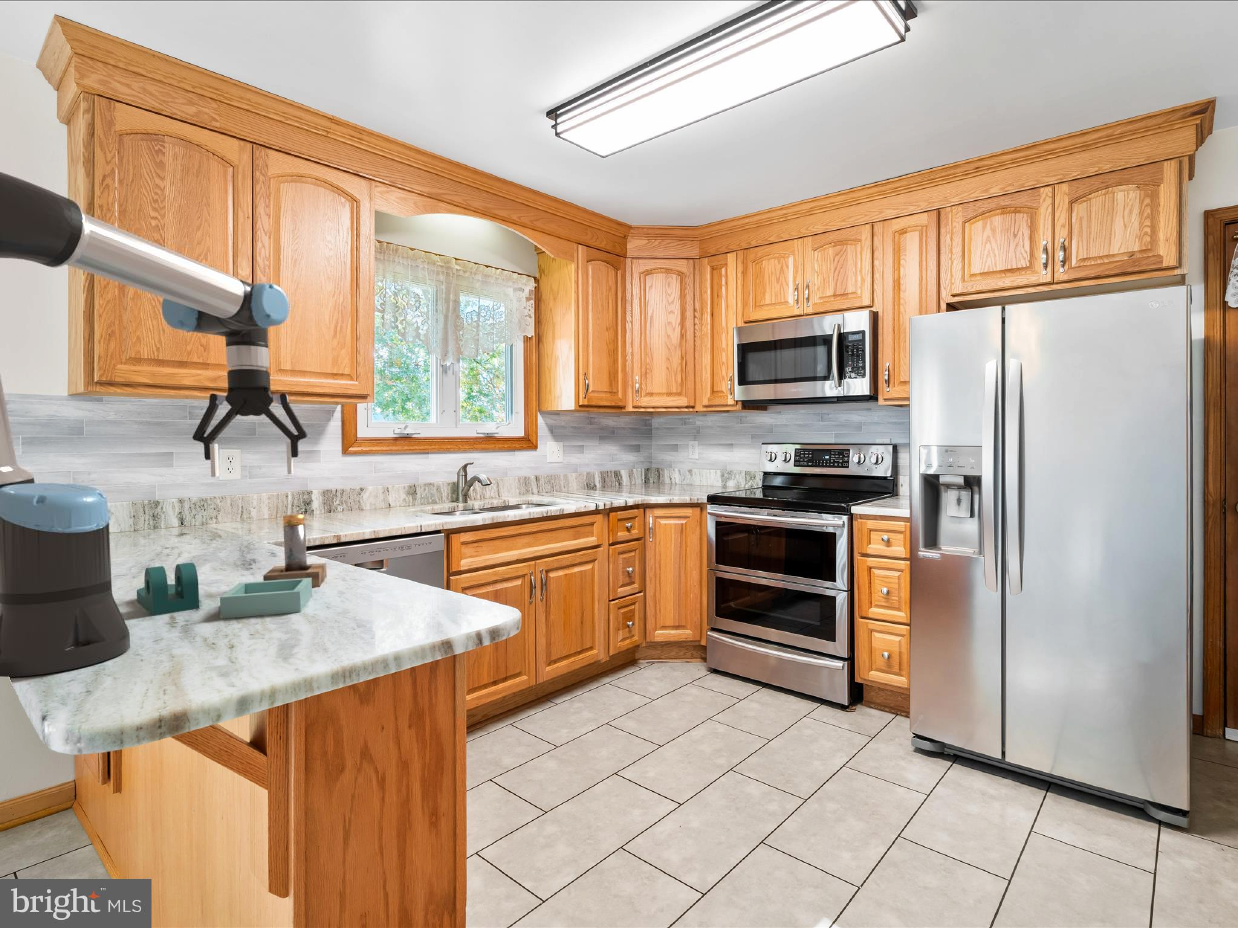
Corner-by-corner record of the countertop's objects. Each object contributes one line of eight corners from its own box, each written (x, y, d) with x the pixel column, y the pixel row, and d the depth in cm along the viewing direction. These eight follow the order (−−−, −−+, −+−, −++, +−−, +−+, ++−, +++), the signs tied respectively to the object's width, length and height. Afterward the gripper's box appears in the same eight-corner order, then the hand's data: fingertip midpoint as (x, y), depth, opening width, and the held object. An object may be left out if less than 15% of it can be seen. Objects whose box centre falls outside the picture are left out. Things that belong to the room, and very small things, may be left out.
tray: (300, 611, 114) (299, 591, 114) (220, 618, 111) (219, 597, 110) (312, 596, 125) (311, 577, 125) (240, 602, 122) (239, 582, 122)
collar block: (319, 586, 134) (319, 571, 134) (263, 590, 131) (263, 575, 131) (326, 577, 144) (326, 562, 144) (274, 580, 141) (274, 566, 141)
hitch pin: (305, 584, 136) (303, 515, 136) (283, 586, 135) (281, 516, 135) (309, 580, 140) (306, 513, 139) (287, 582, 139) (285, 514, 138)
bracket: (199, 609, 118) (197, 564, 118) (153, 616, 114) (151, 570, 113) (176, 593, 131) (174, 553, 131) (134, 600, 127) (132, 558, 126)
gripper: (318, 371, 143) (322, 472, 144) (182, 371, 135) (188, 476, 136) (314, 368, 136) (318, 473, 137) (170, 367, 128) (176, 478, 129)
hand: (253, 475), depth 136 cm, fingers open, 13 cm apart
